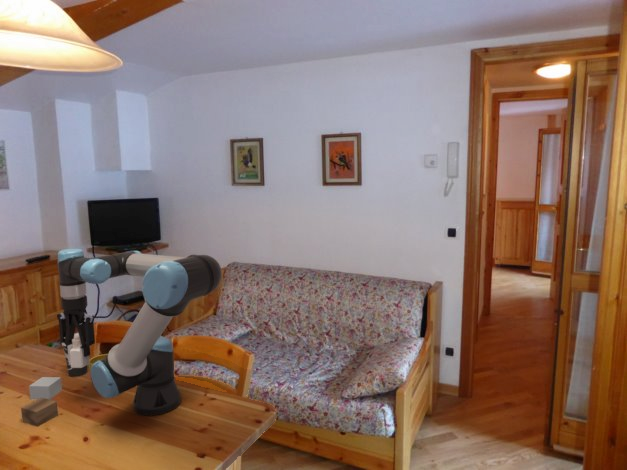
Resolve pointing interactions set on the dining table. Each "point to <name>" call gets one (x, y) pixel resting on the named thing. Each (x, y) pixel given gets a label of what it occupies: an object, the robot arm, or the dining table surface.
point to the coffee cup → (71, 371)
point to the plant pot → (95, 359)
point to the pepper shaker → (76, 353)
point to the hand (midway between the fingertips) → (79, 364)
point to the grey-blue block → (45, 388)
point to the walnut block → (39, 411)
